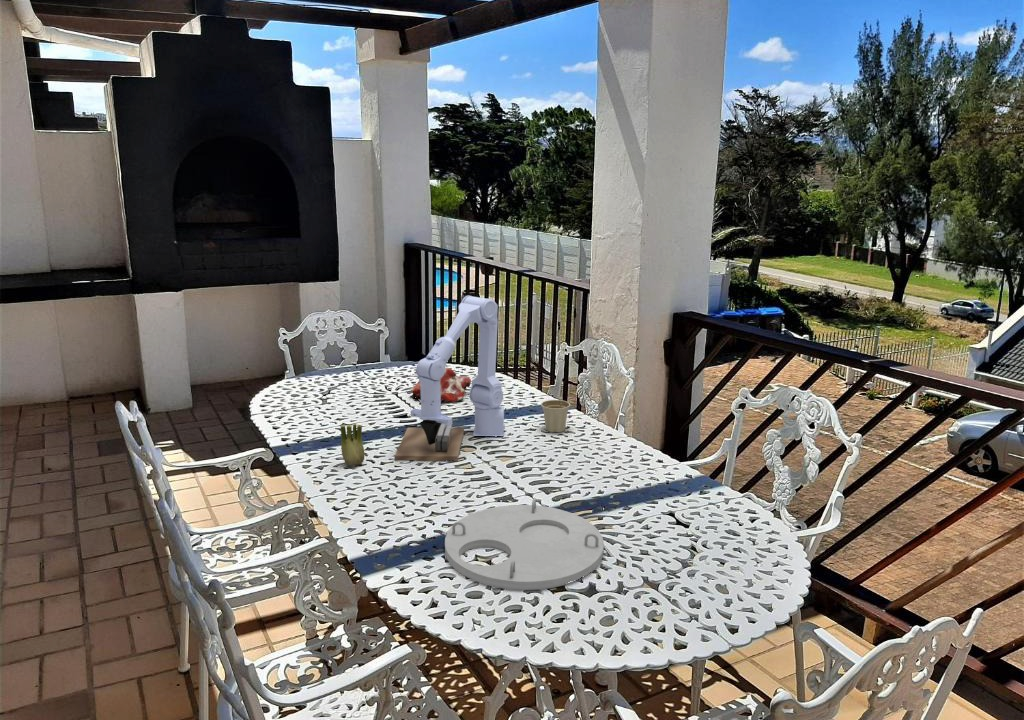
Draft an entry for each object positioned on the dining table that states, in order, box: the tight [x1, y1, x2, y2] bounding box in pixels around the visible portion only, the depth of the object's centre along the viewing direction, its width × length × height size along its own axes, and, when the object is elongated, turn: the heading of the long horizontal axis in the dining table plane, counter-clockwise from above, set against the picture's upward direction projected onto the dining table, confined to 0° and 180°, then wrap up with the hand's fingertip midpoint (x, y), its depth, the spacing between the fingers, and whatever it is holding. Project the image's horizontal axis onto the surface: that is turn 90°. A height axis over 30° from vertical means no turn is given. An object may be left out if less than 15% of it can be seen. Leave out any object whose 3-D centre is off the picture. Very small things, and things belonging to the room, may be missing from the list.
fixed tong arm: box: [442, 424, 453, 452], centre depth 218 cm, size 15×2×3 cm, turn 179°
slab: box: [444, 498, 605, 591], centre depth 160 cm, size 35×35×5 cm
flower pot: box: [540, 399, 571, 433], centre depth 234 cm, size 9×9×9 cm
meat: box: [411, 366, 472, 403], centre depth 268 cm, size 21×21×10 cm
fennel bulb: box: [339, 423, 365, 467], centre depth 204 cm, size 6×5×12 cm
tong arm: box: [435, 424, 447, 452], centre depth 220 cm, size 19×3×3 cm, turn 179°
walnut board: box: [394, 427, 465, 462], centre depth 220 cm, size 18×24×2 cm
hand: (431, 443), depth 214 cm, fingers closed
